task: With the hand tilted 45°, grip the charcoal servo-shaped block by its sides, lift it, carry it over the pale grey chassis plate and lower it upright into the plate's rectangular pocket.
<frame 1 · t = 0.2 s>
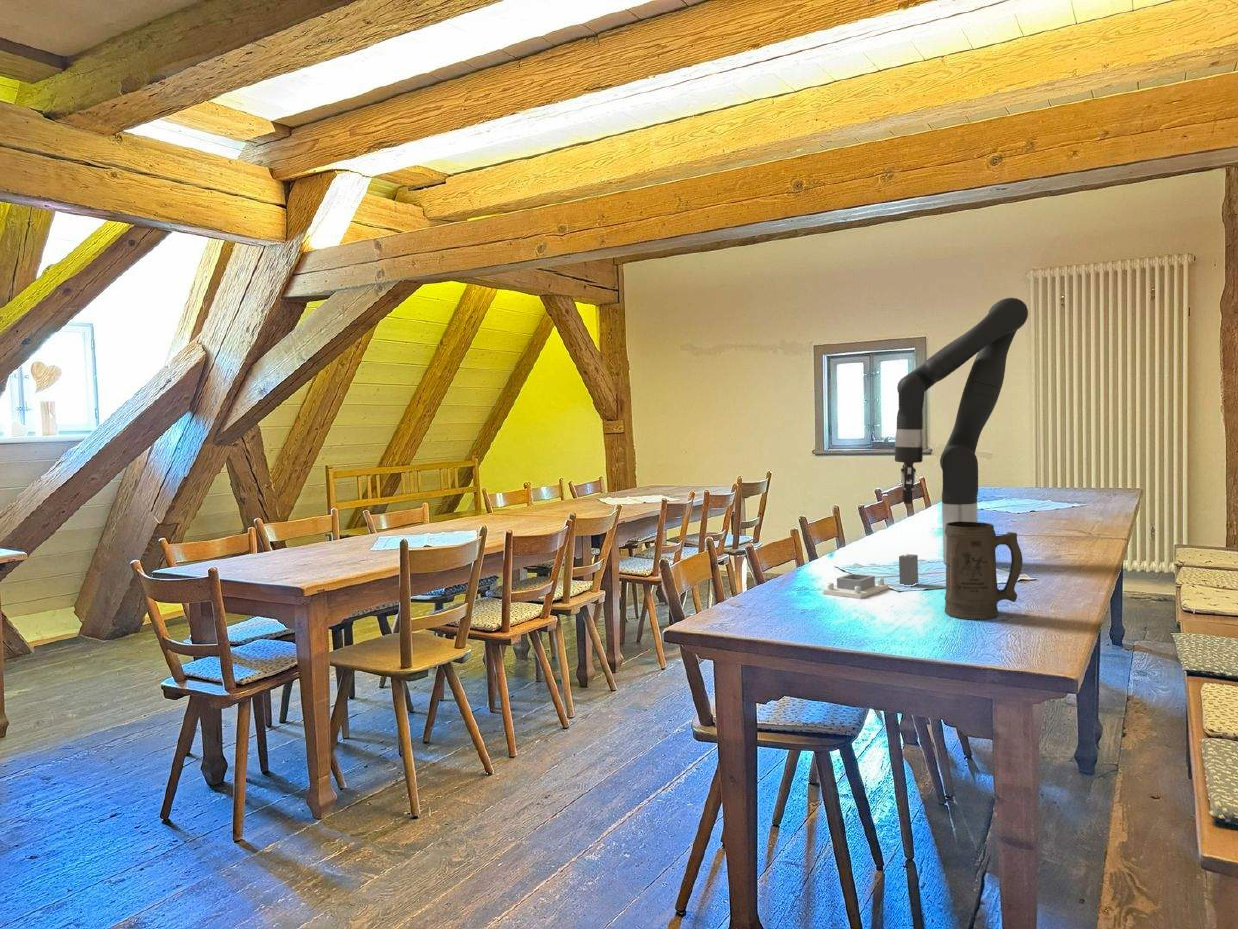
hand: (907, 502, 240), 18 cm above the table, tool pointing down, fingers open, 8 cm apart
beer stein: (983, 615, 181), on the table
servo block: (909, 585, 213), on the table
chassis plate: (856, 591, 209), on the table
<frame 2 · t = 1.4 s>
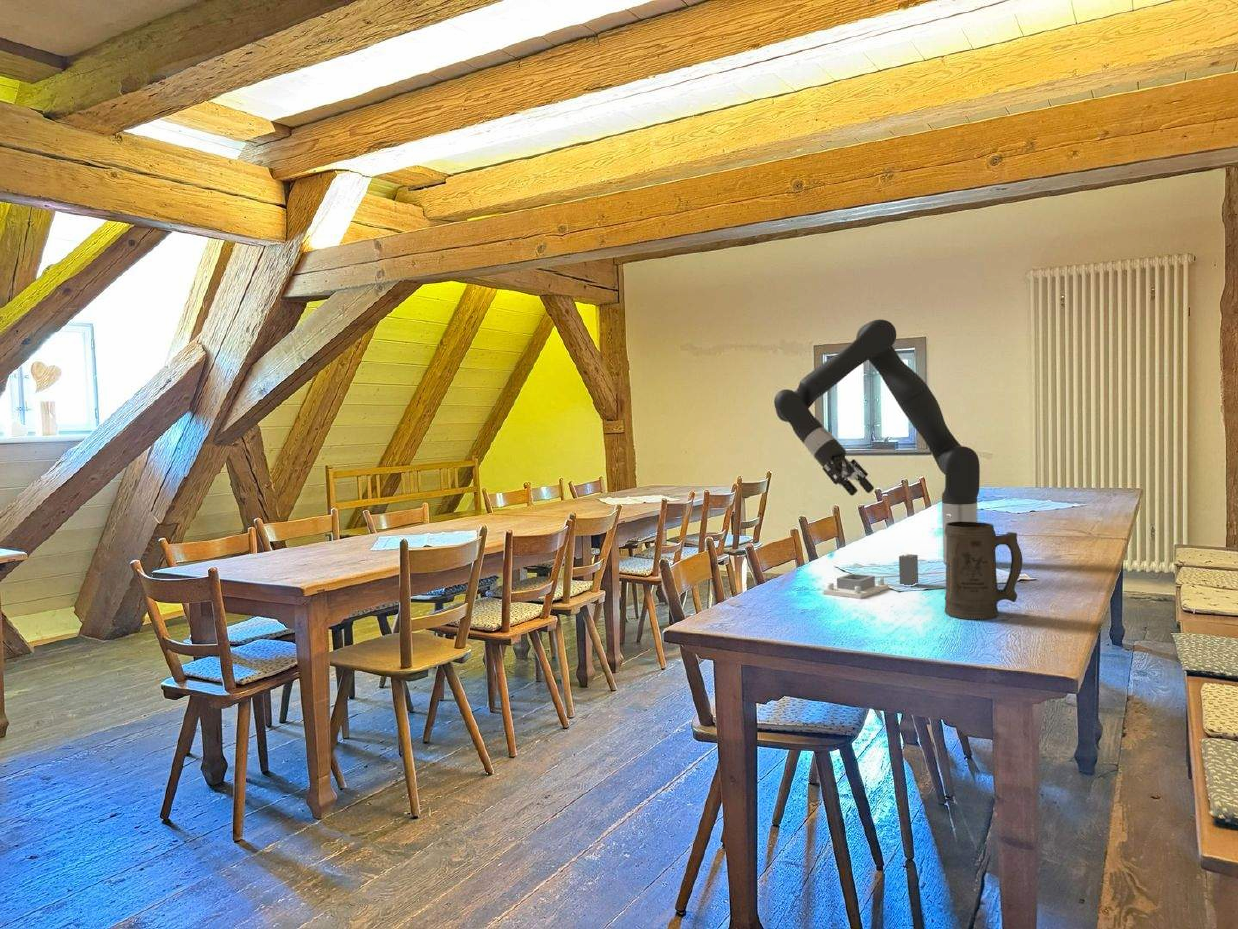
hand: (863, 492, 220), 23 cm above the table, tool tilted 45°, fingers open, 8 cm apart
nothing on the table moved.
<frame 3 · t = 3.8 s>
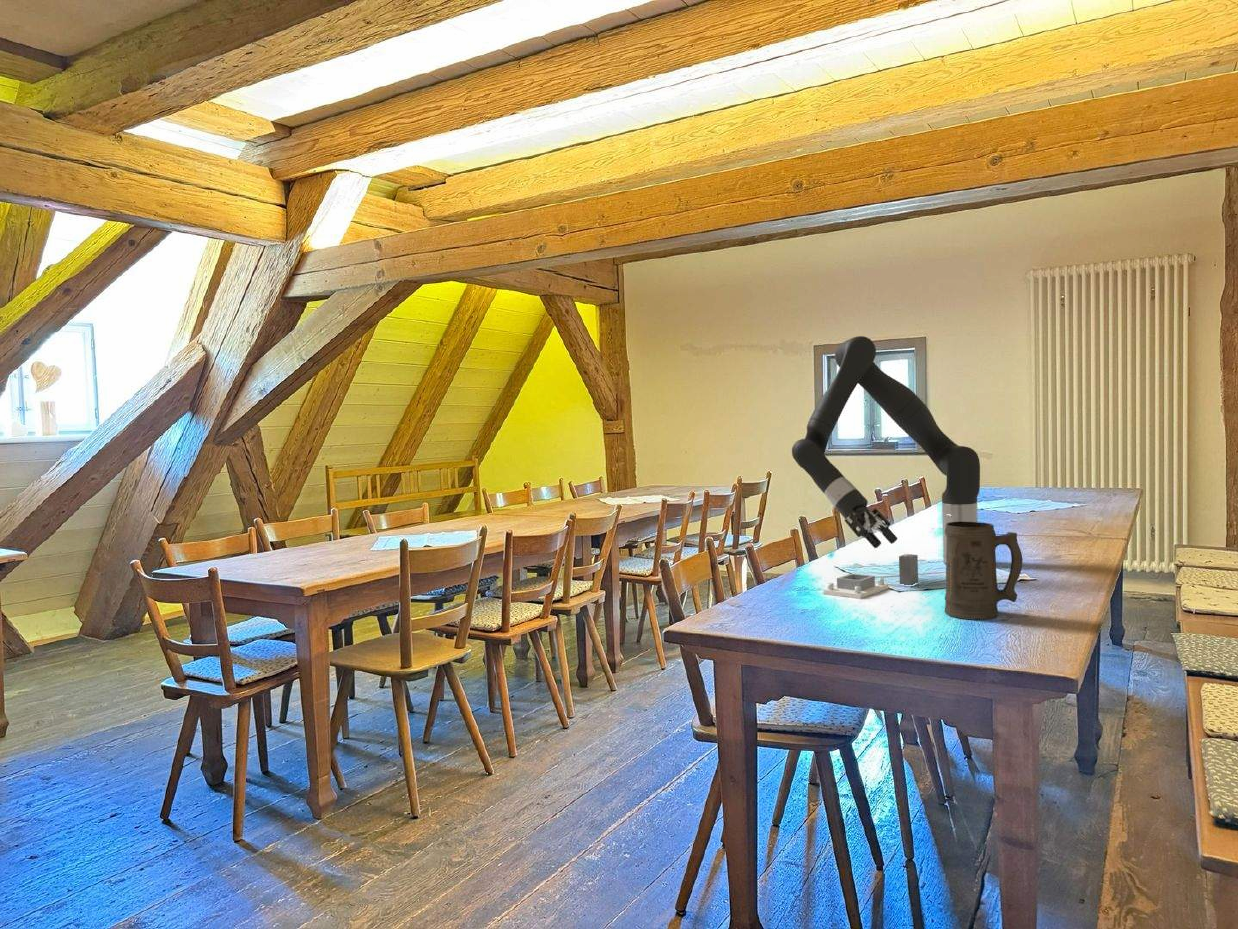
hand: (886, 543, 216), 10 cm above the table, tool tilted 45°, fingers open, 8 cm apart
nothing on the table moved.
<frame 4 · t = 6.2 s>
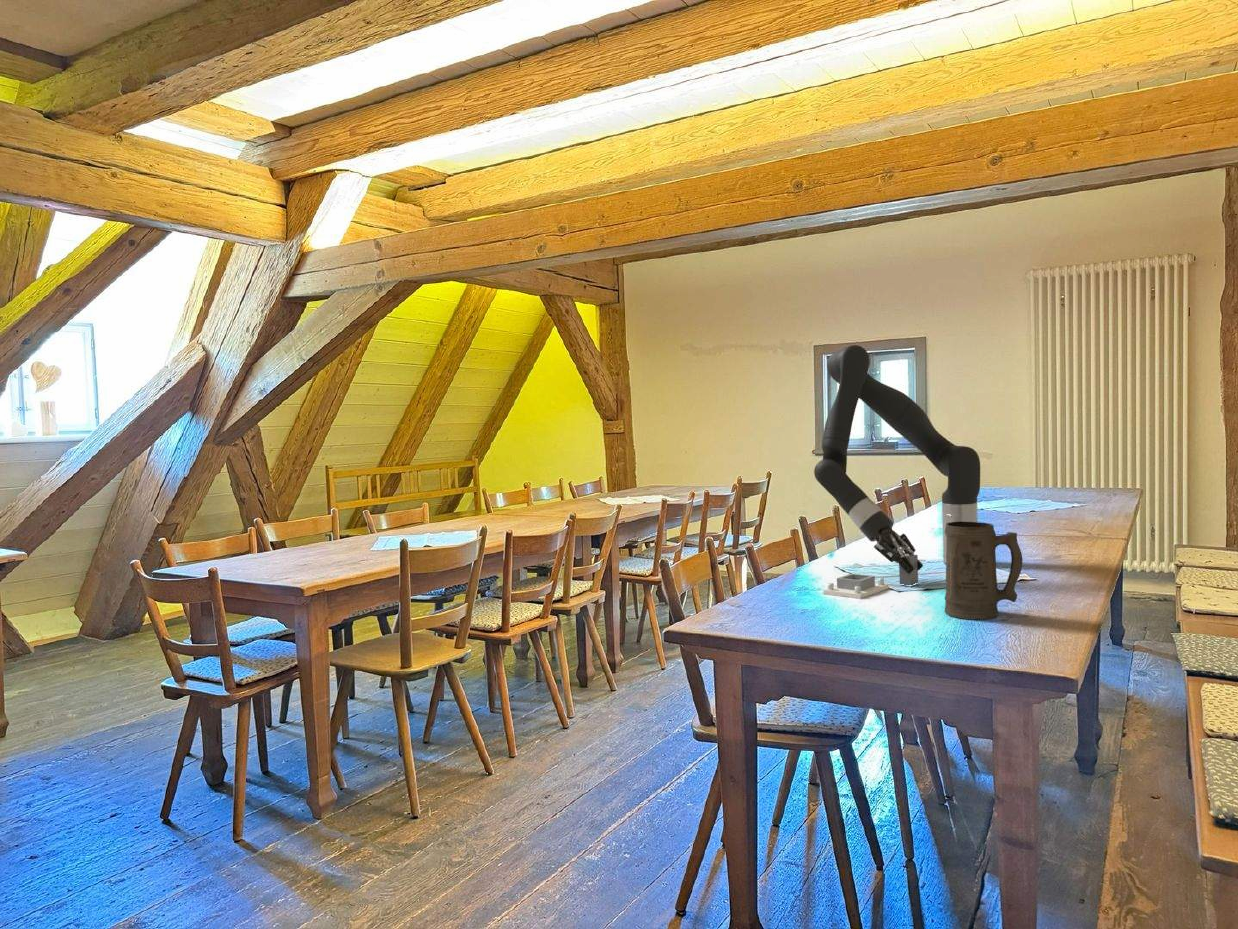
hand: (915, 569, 211), 4 cm above the table, tool tilted 45°, fingers closed on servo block, 4 cm apart
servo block: (909, 584, 213), on the table, touching gripper
everything else where it was.
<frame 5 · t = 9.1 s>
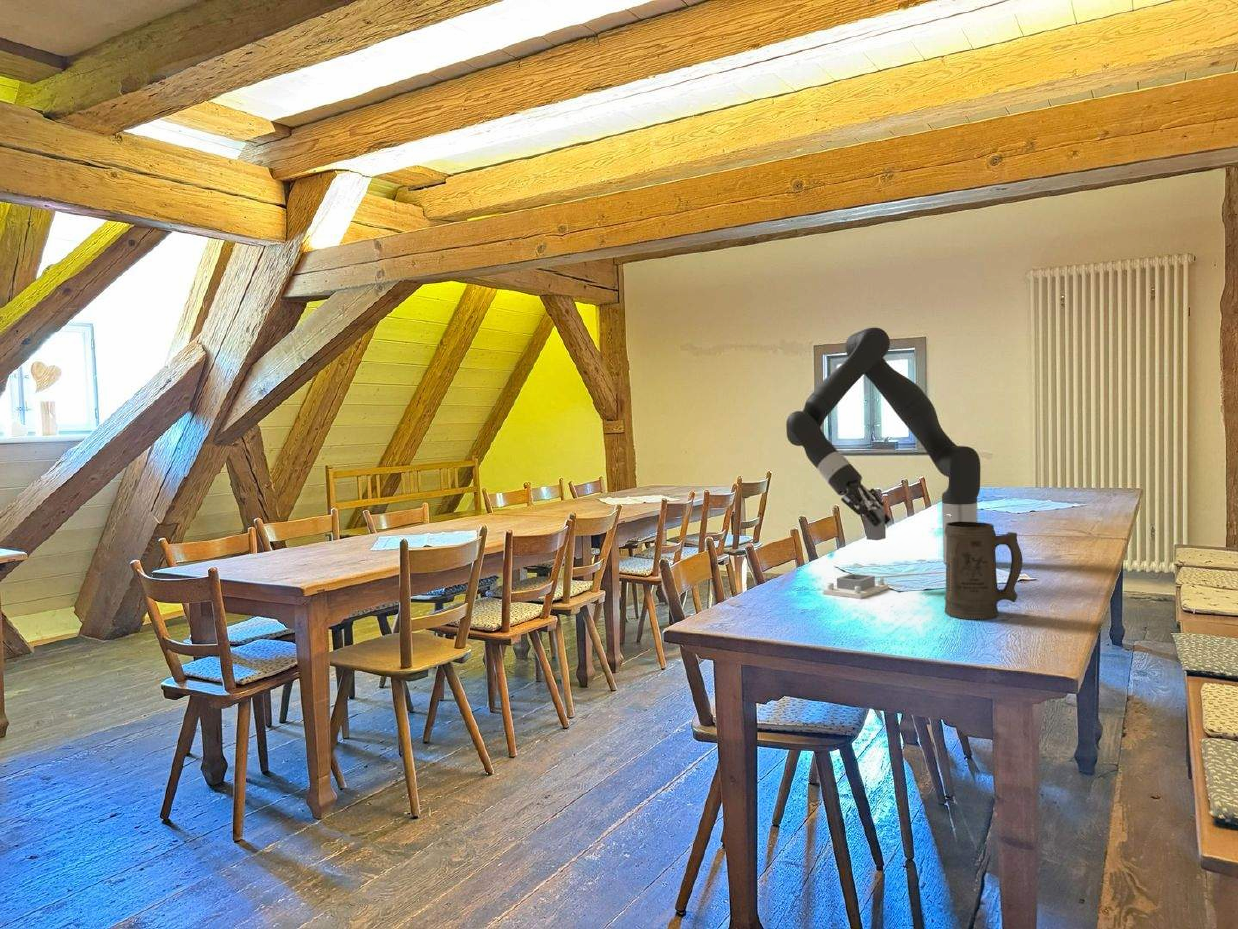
hand: (883, 523, 208), 17 cm above the table, tool tilted 45°, fingers closed on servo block, 4 cm apart
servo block: (876, 538, 210), point 13 cm above the table, touching gripper
everything else where it was.
when the fingers open (6 cm above the table, at t = 12.3 s): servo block drops 1 cm, resting on chassis plate.
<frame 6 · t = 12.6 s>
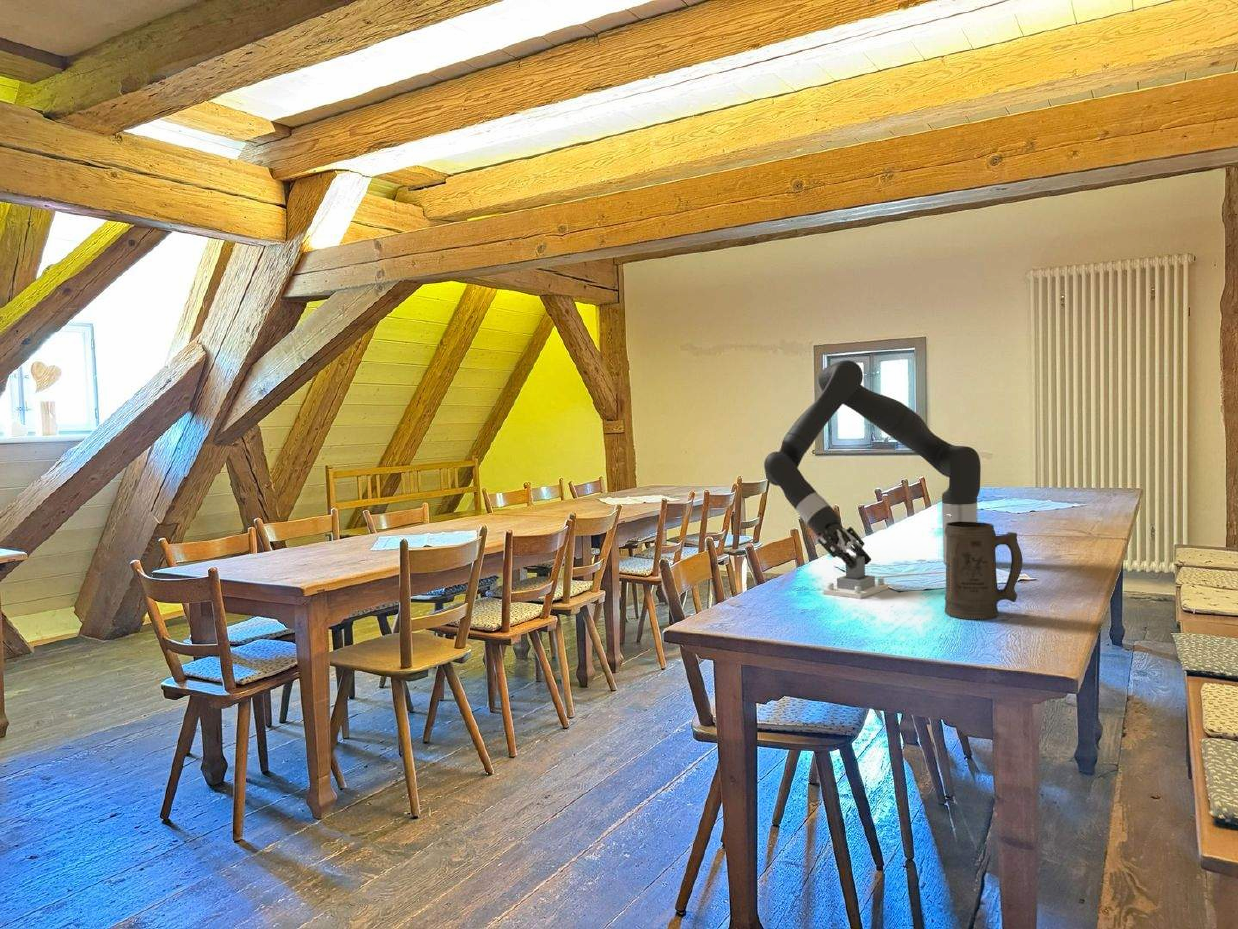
hand: (861, 564, 207), 7 cm above the table, tool tilted 45°, fingers open, 6 cm apart
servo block: (855, 587, 208), point 1 cm above the table, touching chassis plate
everything else where it was.
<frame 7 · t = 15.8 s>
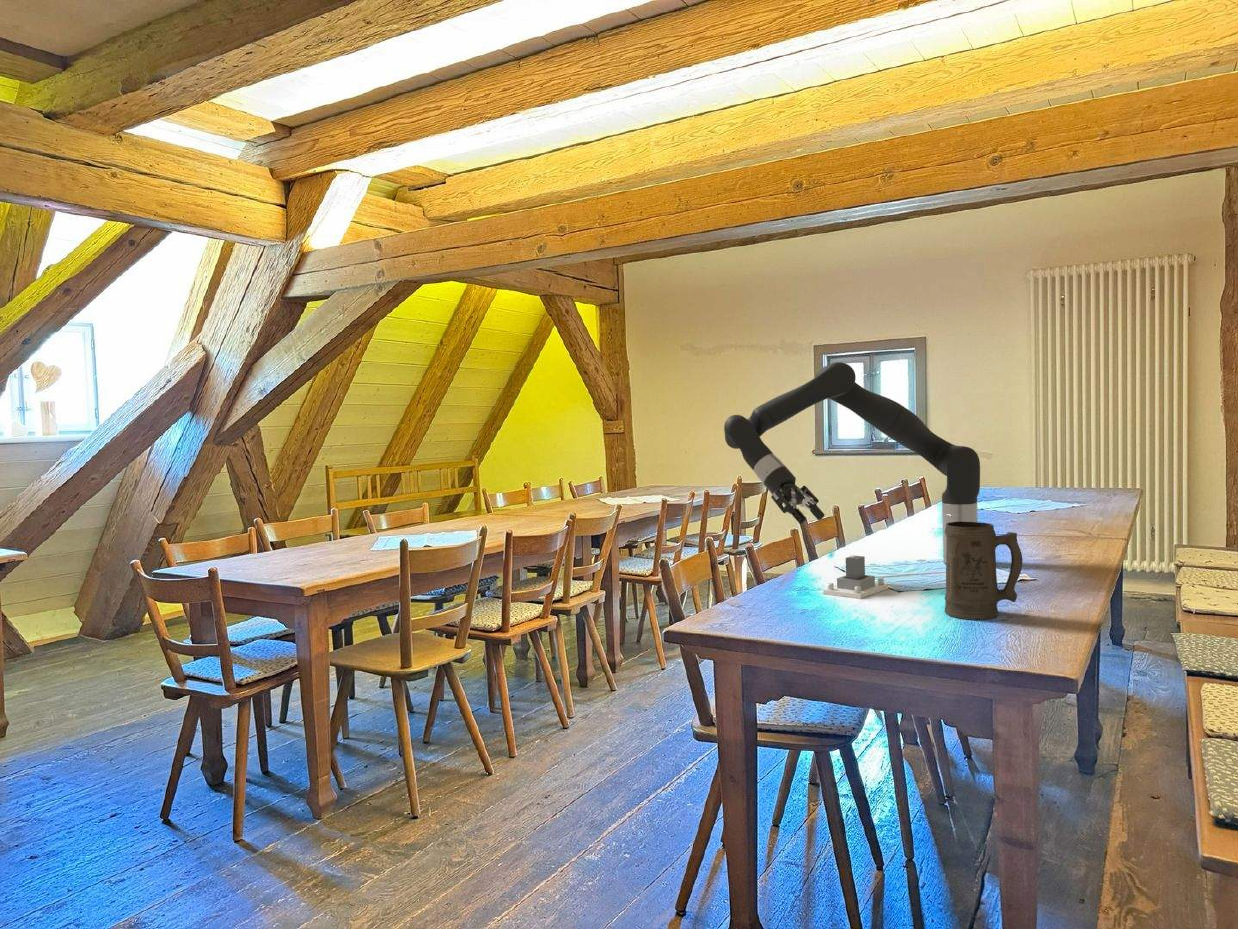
hand: (813, 520, 216), 17 cm above the table, tool tilted 45°, fingers open, 8 cm apart
nothing on the table moved.
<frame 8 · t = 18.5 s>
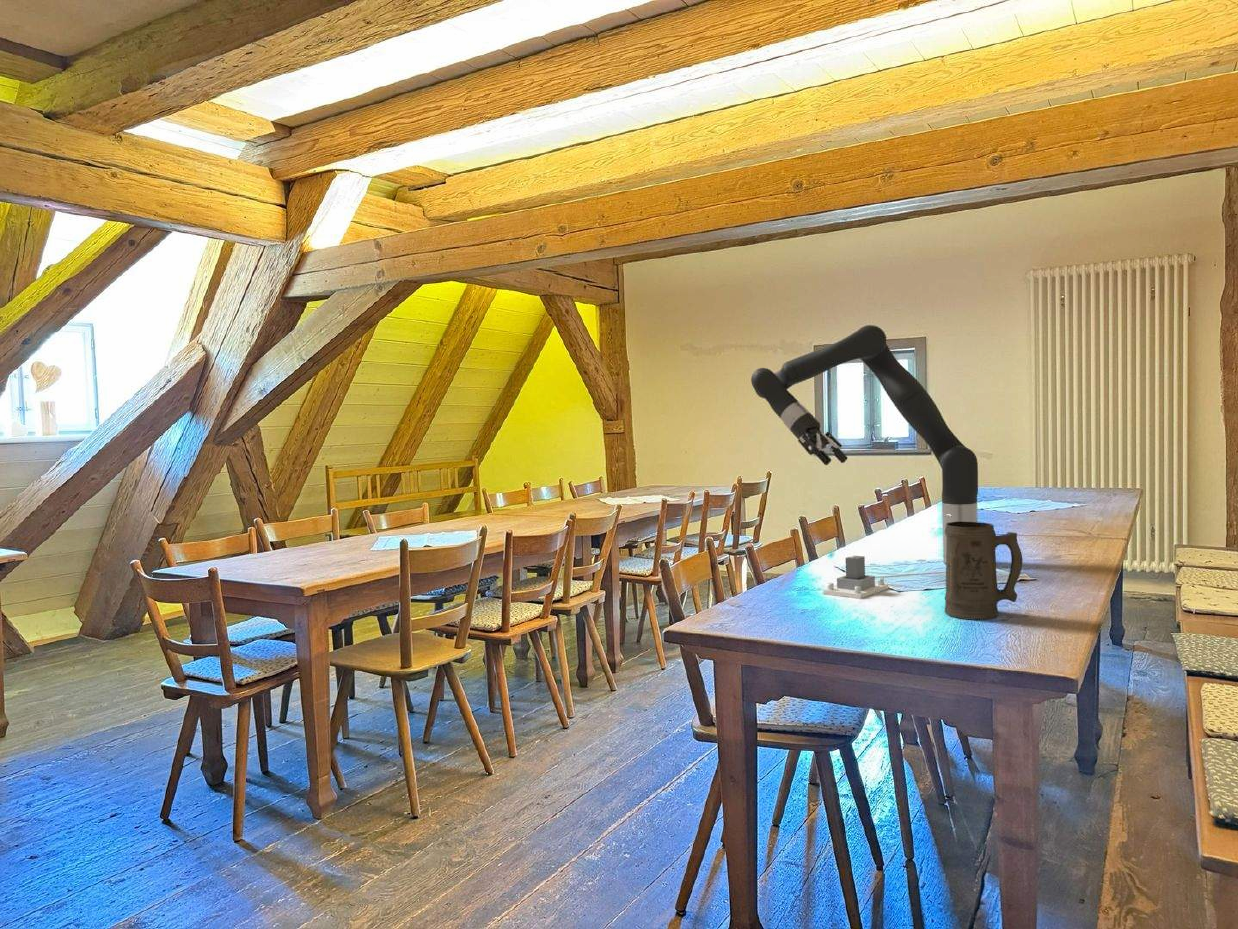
hand: (837, 461, 232), 31 cm above the table, tool tilted 45°, fingers open, 8 cm apart
nothing on the table moved.
at the end: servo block 0.0 cm off-centre on the chassis plate, point 1.0 cm above the chassis plate's base; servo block tilted 0°; the gripper is holding nothing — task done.
